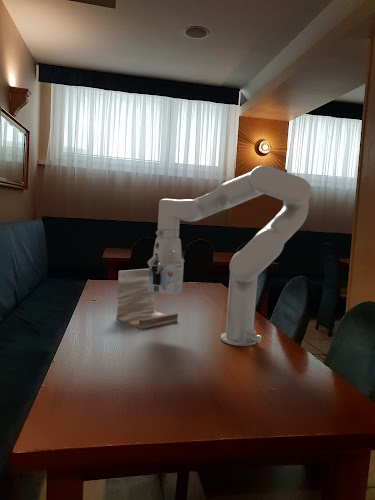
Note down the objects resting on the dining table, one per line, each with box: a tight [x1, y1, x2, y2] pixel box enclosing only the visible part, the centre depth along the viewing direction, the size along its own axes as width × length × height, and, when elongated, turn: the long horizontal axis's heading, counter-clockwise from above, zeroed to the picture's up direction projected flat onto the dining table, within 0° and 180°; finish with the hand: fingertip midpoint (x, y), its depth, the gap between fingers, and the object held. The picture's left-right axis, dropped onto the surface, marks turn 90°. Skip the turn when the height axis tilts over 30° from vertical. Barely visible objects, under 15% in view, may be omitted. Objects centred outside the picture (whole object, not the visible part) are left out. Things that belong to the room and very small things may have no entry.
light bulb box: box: [148, 262, 185, 296], centre depth 137 cm, size 11×7×11 cm, turn 62°
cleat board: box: [116, 268, 179, 330], centre depth 151 cm, size 16×18×19 cm
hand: (165, 283), depth 137 cm, fingers closed on light bulb box, 8 cm apart
